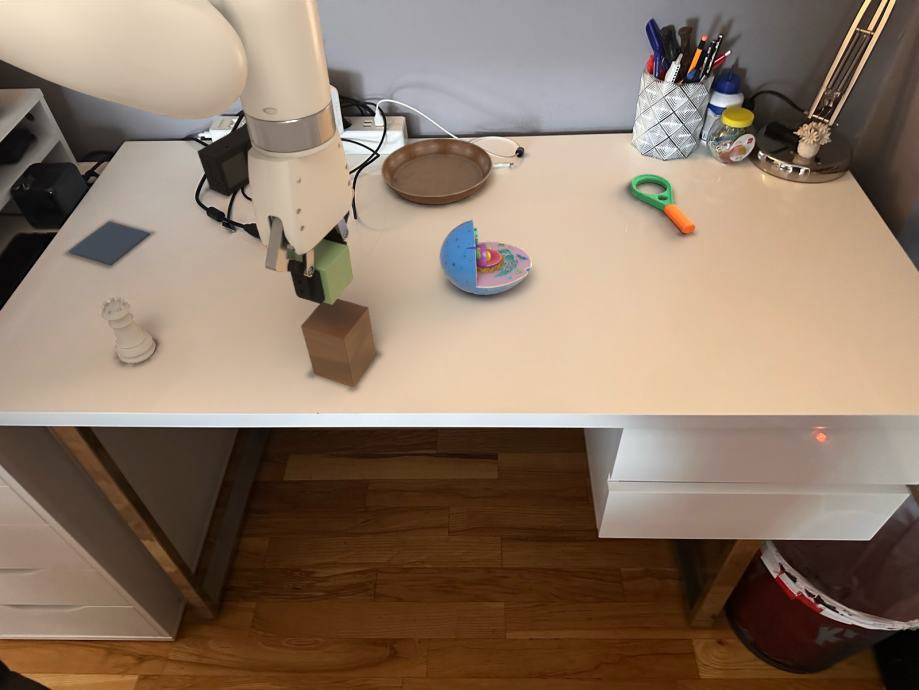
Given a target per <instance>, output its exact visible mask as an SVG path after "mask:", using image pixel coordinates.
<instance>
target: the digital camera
mask: <svg viewBox="0 0 919 690" xmlns="http://www.w3.org/2000/svg"><path fill="white" fill-rule="evenodd" d="M252 147H253V146H252V143H251V139H250V136H249V132H248V128H247V124H246V123H245V124H243V125H241V126H240V127H238V128H236V129H234V130H232V131H230V132H229V133H227V134H225V135H224V136H222V137H220V138H218V139H216V140H215V141H213V142H211V143H209V144H208V145H206V146H204V147H202V148H200V149H199V150H197V155H198V158H199V160H200V164H201V166H202V169H203V172H204V176H205V178H206V181H207V184H208V186H209V187H208V188H209V190H211V191H213V192H215V193H219V194H221V195H223V196H226V197H229V196H230V195H233V194H234V193H236V192H238V191H239V190H241V189H242V188H244V187H246V186H247V185H250V183H249V172H248V151H249V150H250V149H251V148H252Z"/></svg>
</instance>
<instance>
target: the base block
mask: <svg viewBox="0 0 919 690" xmlns="http://www.w3.org/2000/svg"><path fill="white" fill-rule="evenodd" d="M371 321H372V320H371V315H370V310H369V307H368V306H364V305H361V304H358V303H354V302H351V301H347V300H344V299H342V298H341V299H340V298H338V299H337V300H336V301H335V302H334V303H333V304H332V305H331V304H328V303H325V302H323V303H322V304H319V303H318V305H317V306H316V308H315V309H314V310H313V311H312V312H311V314H309V316H308V317H307V318H306V319H305V320H304V321H303V322H302V324H301V325H300V327H301V330H302V331H301V332H302V334H303V338H304V342H305V346H306V349H307V353H308V358H309V360H310V364H311V367H312V368H311V369H312V372H313V374H314V376H315V375H316V376H318V377H321V378H324V379H328V380H330V381H333V382H337V383H339V384H342V385H345V386H348V387H352V388H355V387H356V385H357V384H358V383H359V382H360V380H361V378H362V377H363V376H364V374H365V372H367V370H368V368H370V366H371V364H372V363H373V362H374V360H375V359H376V357H377V351H376V345H375V339H374V333H373V327H372V322H371Z"/></svg>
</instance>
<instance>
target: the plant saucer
mask: <svg viewBox="0 0 919 690" xmlns="http://www.w3.org/2000/svg"><path fill="white" fill-rule="evenodd" d="M492 170H493V160H492V157H491V156H490V154H489V152H488V151H486V150H485V149H484V148H483V147H481V146H479V145H477V144H475V143H472V142H470V141H467V140H462V139H456V138H448V137H445V138H439V137H438V138H428V139H427V138H426V139H421V140H418V141H414V142H410V143H408V144H406V145H403V146H401V147H399V148H396V149H395V150H394V151H392V152H391V153H390V154H389V155H388V156H387V157H386V158H385V159H384V161H383V162H382V164H381V169H380V171H381V177H382V179H383V180H384V182H385V183H386V184H387V185H388V186H389V188H390V189H392V191H394V192H395V193H396V194H398V195H400V196H401V197H402V198H405V199H407V200H408V201H411V202H413V203H418V204H424V205H443V204H444V205H445V204H449V203H455V202H458V201H461V200H463V199H465V198H467V197H469V196H472V194H474V193H475V192H476V191H477V190H479V189H480V188H481V187H482V186H483V184H484V183H485V182H486V180H488V178H489V177H490V174H491V172H492Z"/></svg>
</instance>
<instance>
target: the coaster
mask: <svg viewBox="0 0 919 690" xmlns="http://www.w3.org/2000/svg"><path fill="white" fill-rule="evenodd" d="M150 235H151V233H150V232H148V231H145V230H141V229H138V228H134V227H130V226H127V225H123V224H120V223H116V222H113V221H107V222H106V223H104V224H103V225H102V226H101V227H99V228H98V229H96V230H95V231H94V232H92V233H91V234H90V235H88V236H87V237H86V238H84V239H83V240H81V241H80V242H79V243H78V244H76V245H75V246H73V247H72V248H71V249H69V250H68V253H69V254H71V255H75V256H77V257H82V258H85V259H88V260H91V261H94V262H98V263H101V264H105V265H107V266H113V265H114V264H115V263H116V262H118V261H119V260H120V259H122V258H123V257H124V256H126V255H127V254H128V253H129V252H131V250H133V249H134V248H135V247H137V245H139V244H140V243H142V241H145V239H147V238H148V237H149V236H150Z"/></svg>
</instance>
